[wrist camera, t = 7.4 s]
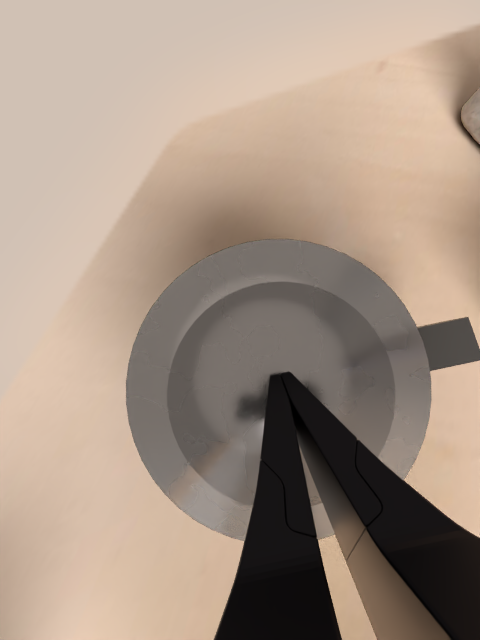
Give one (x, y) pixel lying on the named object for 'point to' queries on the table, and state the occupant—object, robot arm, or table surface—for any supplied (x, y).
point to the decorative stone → (472, 115)
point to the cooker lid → (269, 371)
